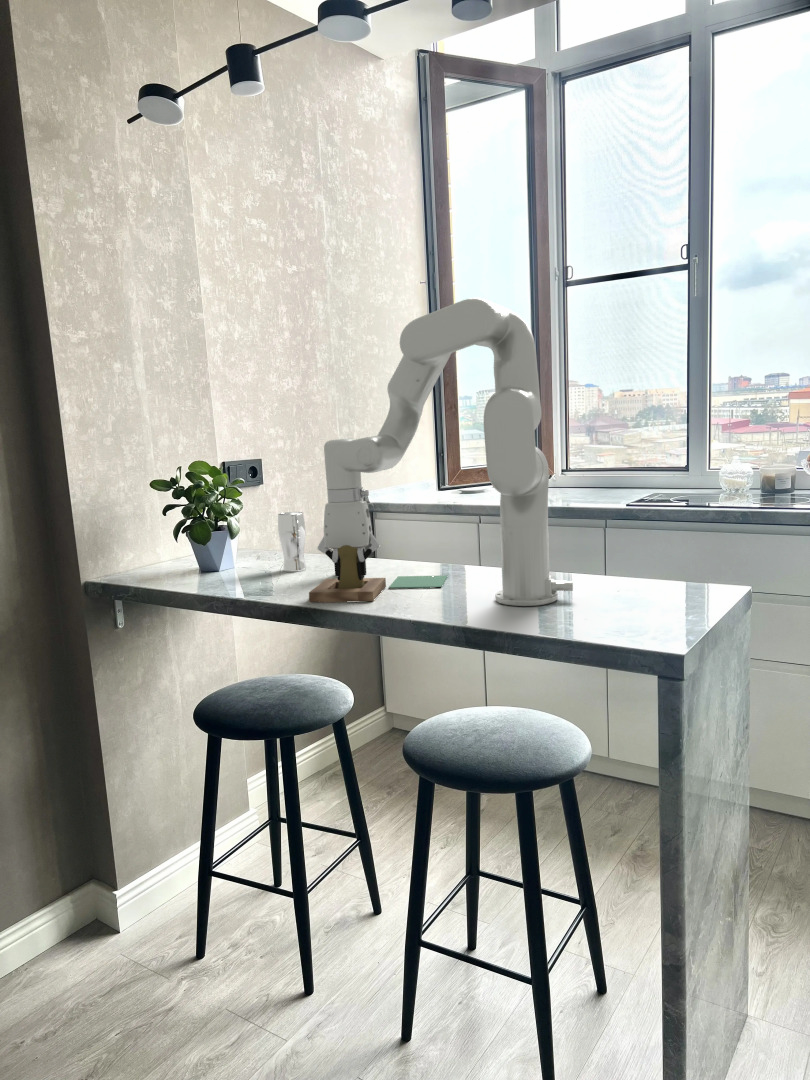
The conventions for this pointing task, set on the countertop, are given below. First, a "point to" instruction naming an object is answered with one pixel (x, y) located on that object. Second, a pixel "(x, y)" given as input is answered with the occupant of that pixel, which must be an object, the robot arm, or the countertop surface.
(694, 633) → the countertop surface
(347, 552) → the cork
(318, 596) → the socket
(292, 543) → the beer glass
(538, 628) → the countertop surface
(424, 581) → the mat
